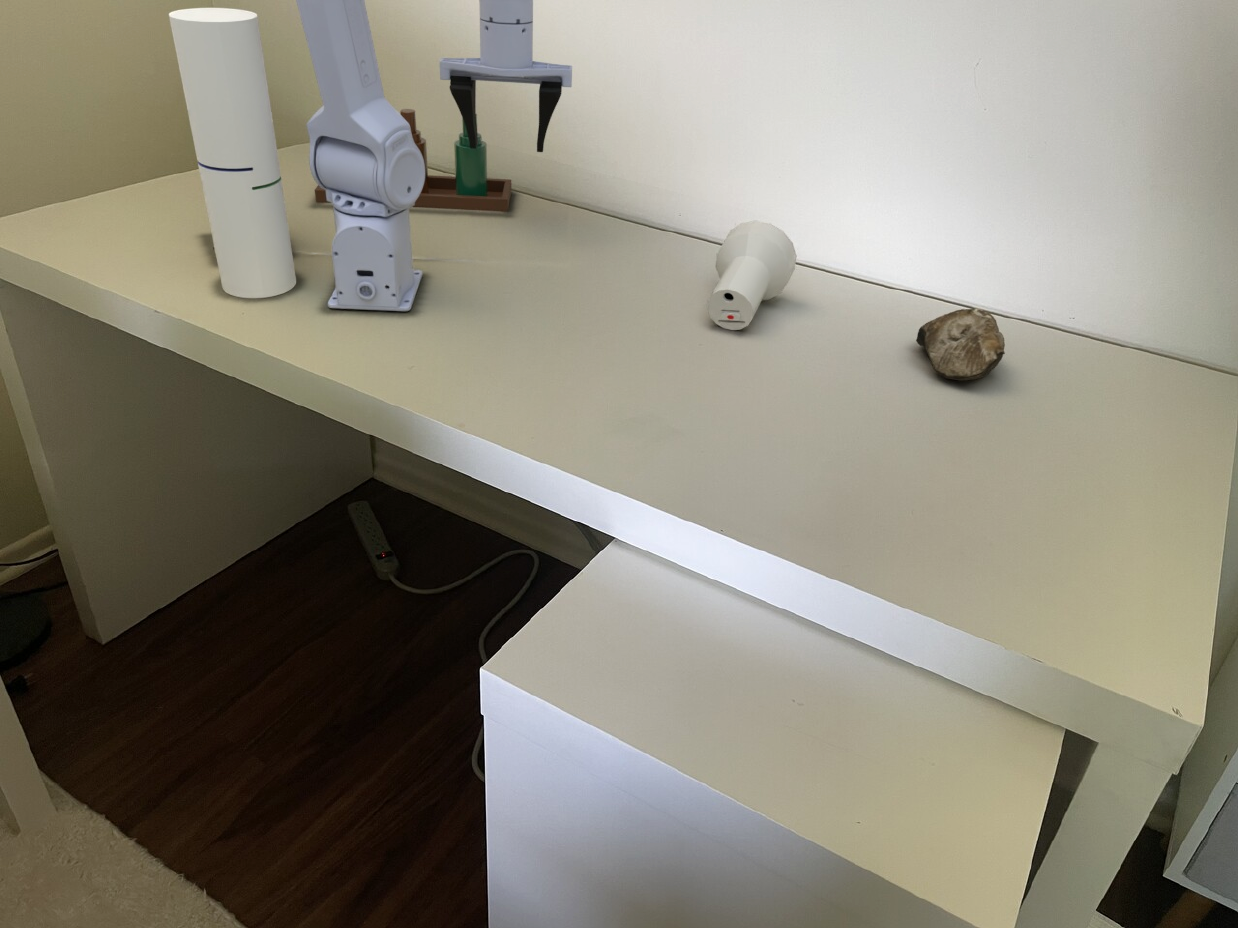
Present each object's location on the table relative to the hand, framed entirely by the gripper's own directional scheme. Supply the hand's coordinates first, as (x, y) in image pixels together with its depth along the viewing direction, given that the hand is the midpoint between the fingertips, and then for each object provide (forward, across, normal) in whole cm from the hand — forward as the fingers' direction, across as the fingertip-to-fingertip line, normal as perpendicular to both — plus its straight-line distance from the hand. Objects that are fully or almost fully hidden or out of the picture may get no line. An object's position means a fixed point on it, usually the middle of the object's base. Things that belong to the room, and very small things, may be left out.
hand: (507, 148), depth 106 cm
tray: (+9, +12, -8) cm, 17 cm away
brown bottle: (+9, +12, -8) cm, 17 cm away
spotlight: (+10, -26, +21) cm, 35 cm away
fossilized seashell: (+10, -45, +32) cm, 56 cm away
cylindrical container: (+10, +24, +20) cm, 33 cm away
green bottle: (+9, +5, -8) cm, 13 cm away
